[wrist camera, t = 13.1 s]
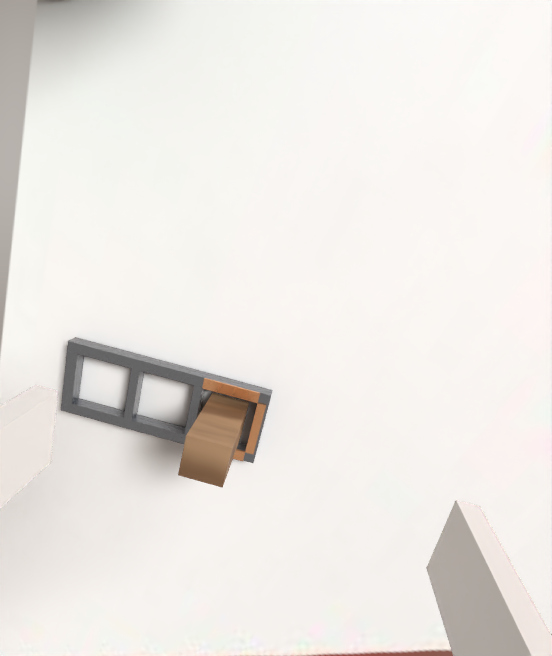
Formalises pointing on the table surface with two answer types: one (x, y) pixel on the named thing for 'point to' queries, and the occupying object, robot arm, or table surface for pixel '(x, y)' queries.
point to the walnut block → (213, 440)
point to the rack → (129, 416)
